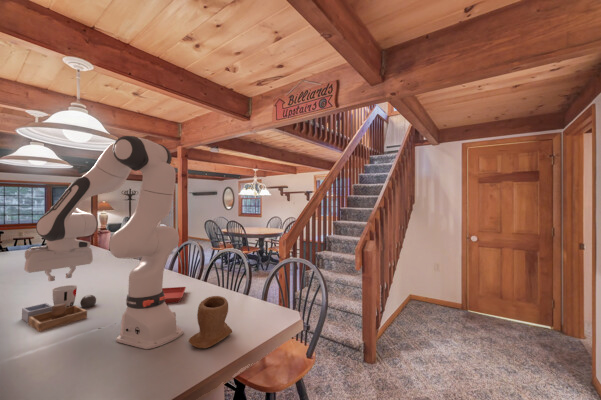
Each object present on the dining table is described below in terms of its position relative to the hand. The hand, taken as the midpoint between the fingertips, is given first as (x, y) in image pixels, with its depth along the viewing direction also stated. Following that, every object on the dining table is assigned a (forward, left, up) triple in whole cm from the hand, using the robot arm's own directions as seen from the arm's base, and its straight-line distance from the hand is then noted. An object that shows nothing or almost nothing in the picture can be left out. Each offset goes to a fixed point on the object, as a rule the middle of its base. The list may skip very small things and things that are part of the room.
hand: (60, 279), depth 105 cm
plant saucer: (-8, -39, -18) cm, 44 cm away
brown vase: (-62, -23, -17) cm, 69 cm away
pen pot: (+11, +4, -17) cm, 20 cm away
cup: (+14, -6, -17) cm, 23 cm away
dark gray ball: (+9, -13, -17) cm, 23 cm away
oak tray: (0, 0, -17) cm, 17 cm away
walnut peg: (0, 0, -16) cm, 16 cm away
